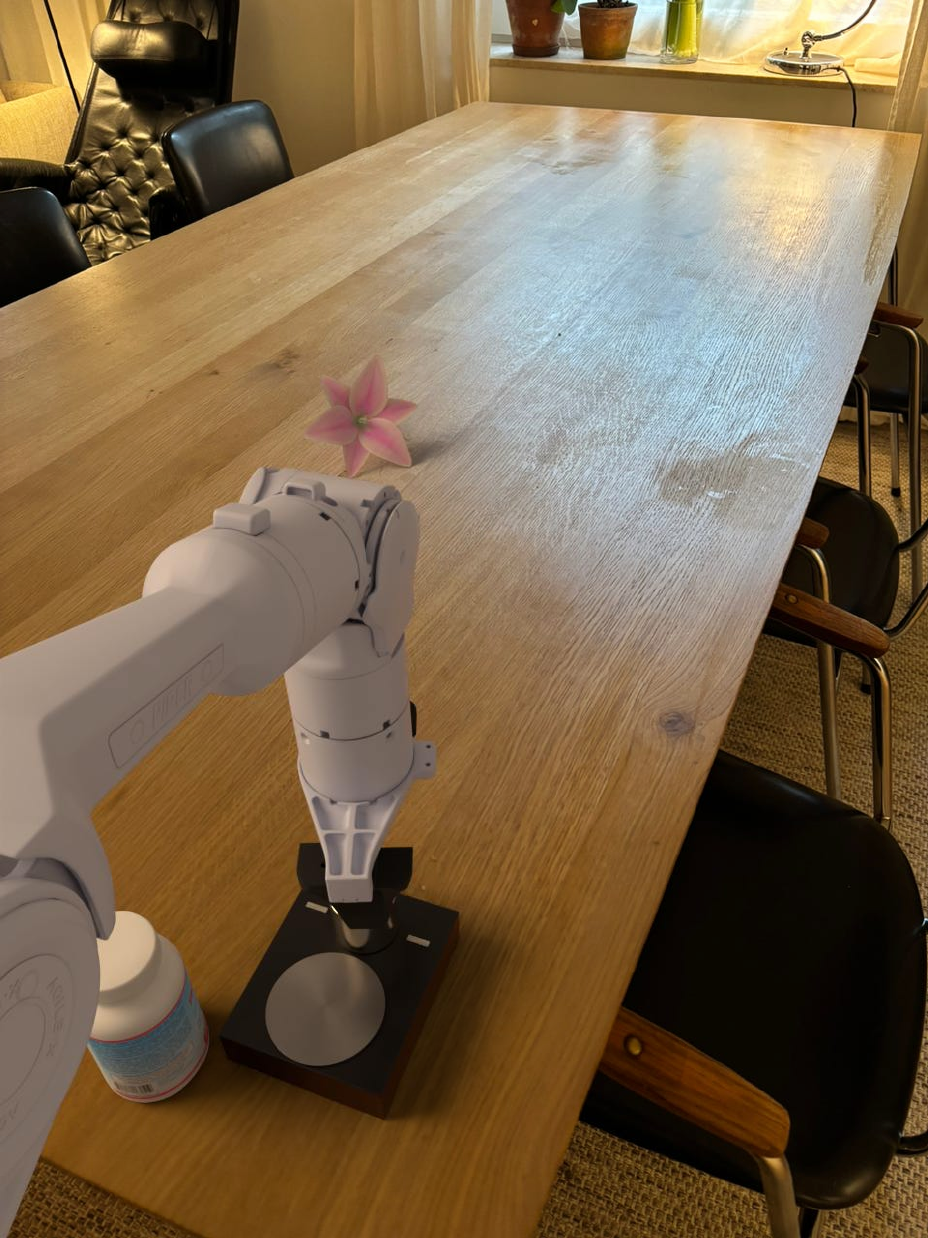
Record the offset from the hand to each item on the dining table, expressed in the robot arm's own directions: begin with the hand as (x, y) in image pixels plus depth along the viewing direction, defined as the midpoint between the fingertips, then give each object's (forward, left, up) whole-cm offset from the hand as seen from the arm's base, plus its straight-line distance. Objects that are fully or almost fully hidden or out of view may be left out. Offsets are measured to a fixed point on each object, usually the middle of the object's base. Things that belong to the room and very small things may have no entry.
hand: (371, 863), depth 56 cm
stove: (-3, +1, -10) cm, 10 cm away
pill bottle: (-10, +10, -10) cm, 17 cm away
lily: (+54, +26, -10) cm, 60 cm away
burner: (-6, +1, -7) cm, 9 cm away
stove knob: (0, +1, -6) cm, 6 cm away
